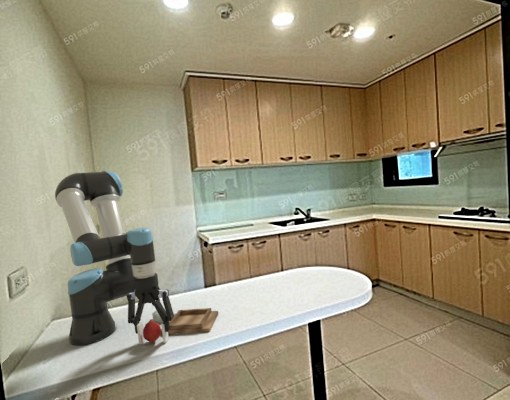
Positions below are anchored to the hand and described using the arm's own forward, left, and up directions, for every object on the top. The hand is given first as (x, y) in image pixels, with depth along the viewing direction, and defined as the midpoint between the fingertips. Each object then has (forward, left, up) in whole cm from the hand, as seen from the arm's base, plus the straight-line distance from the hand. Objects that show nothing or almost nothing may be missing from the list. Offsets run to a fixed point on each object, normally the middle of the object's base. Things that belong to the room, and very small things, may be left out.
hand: (154, 341), depth 102 cm
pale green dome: (-4, +17, 0) cm, 17 cm away
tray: (+9, +12, 0) cm, 15 cm away
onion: (0, 0, 0) cm, 1 cm away
